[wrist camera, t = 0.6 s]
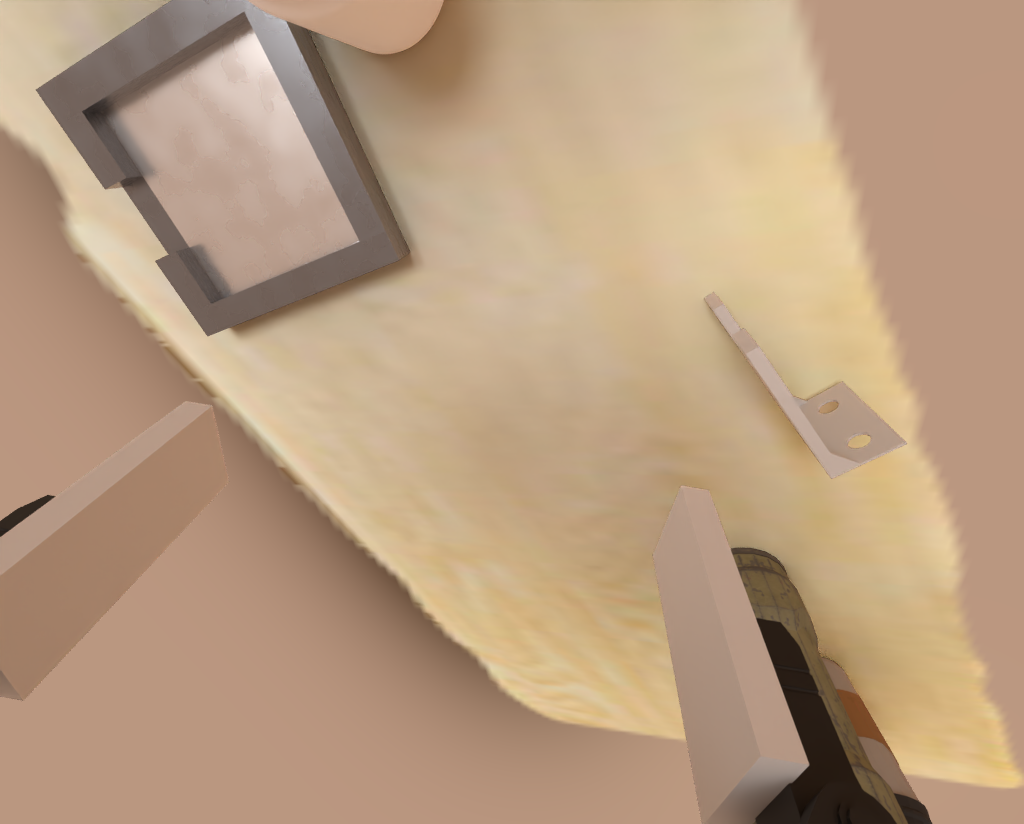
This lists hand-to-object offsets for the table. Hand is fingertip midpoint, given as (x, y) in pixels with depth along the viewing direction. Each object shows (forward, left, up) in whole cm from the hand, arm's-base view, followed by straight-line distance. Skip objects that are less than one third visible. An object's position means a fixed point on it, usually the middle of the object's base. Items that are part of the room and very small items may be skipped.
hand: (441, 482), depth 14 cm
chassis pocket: (-12, -16, -24) cm, 31 cm away
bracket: (+11, +15, -25) cm, 31 cm away
